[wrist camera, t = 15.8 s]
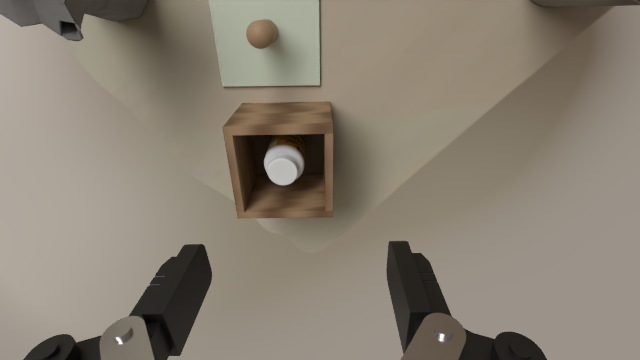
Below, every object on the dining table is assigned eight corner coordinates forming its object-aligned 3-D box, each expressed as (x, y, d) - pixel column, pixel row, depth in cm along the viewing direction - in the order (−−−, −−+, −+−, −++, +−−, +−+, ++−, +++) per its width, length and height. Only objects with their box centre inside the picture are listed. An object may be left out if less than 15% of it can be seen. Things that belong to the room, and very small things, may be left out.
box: (329, 101, 46) (333, 125, 37) (329, 178, 52) (332, 216, 43) (242, 103, 46) (222, 127, 37) (252, 180, 52) (237, 218, 43)
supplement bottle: (313, 143, 49) (312, 172, 40) (289, 165, 51) (284, 198, 42) (287, 119, 47) (280, 144, 38) (263, 143, 49) (251, 172, 40)
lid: (318, -32, 39) (318, -40, 33) (319, 83, 46) (320, 95, 39) (206, -30, 39) (185, -38, 33) (224, 85, 46) (209, 96, 39)
